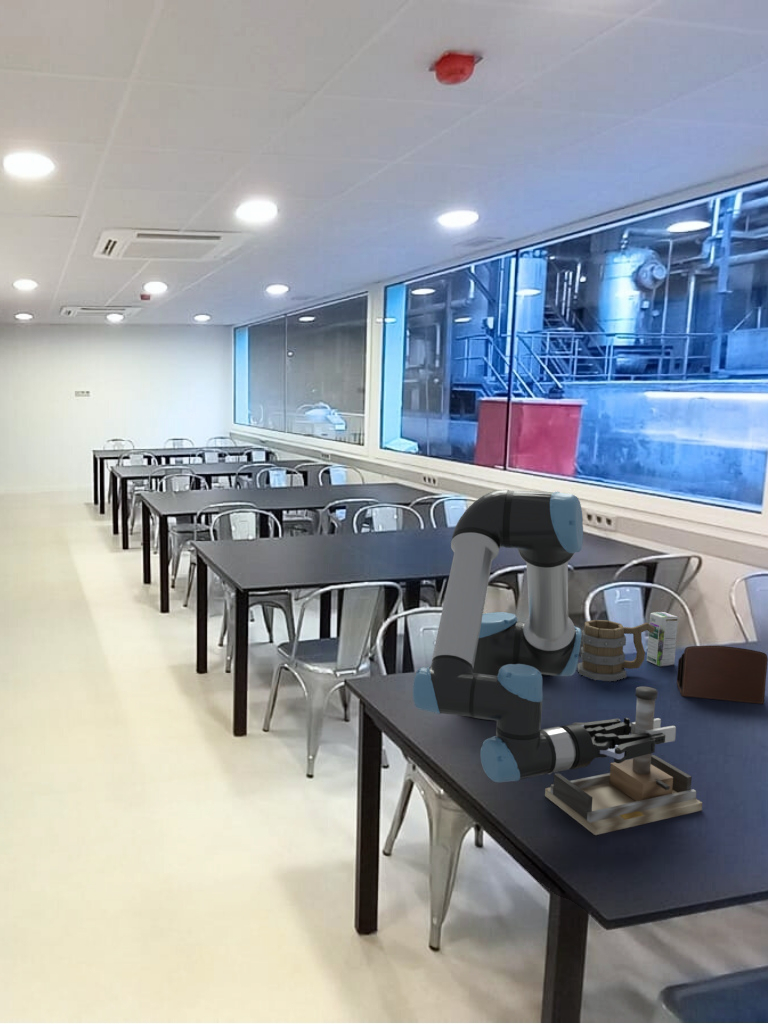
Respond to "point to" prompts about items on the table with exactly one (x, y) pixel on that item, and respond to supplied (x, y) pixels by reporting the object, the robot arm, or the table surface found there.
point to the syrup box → (662, 639)
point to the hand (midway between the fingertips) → (666, 729)
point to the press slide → (641, 758)
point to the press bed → (621, 800)
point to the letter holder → (723, 673)
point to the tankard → (609, 649)
